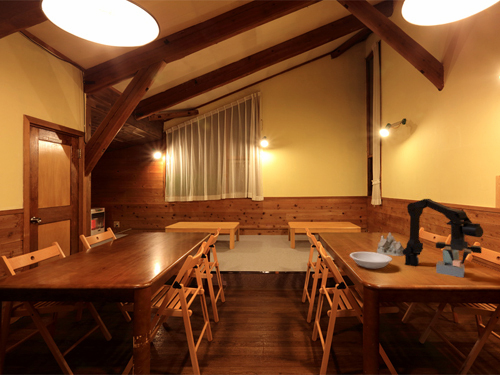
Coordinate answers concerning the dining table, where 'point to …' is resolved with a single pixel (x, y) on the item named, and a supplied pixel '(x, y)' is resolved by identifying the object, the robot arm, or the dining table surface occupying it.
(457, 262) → the pink rectangular block
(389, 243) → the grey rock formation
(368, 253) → the soup bowl
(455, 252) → the cup
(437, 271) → the box
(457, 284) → the dining table surface
